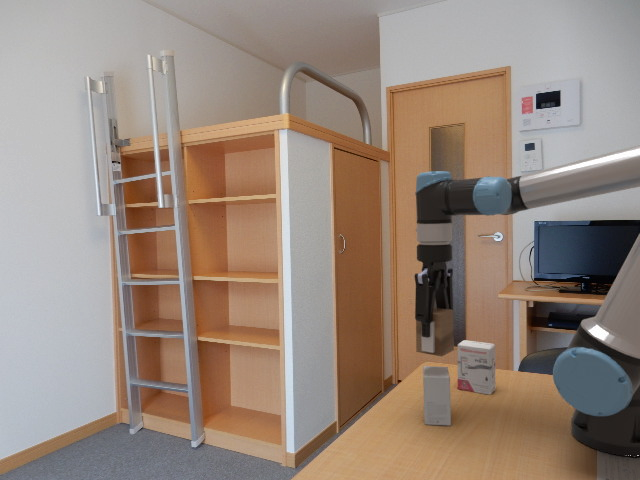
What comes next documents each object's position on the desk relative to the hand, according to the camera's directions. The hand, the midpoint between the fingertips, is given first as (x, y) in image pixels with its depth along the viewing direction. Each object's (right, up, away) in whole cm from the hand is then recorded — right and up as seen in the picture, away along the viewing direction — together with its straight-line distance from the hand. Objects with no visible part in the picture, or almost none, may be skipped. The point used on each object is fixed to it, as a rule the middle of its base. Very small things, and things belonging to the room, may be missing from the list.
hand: (435, 347), depth 104 cm
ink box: (+15, -15, +17) cm, 27 cm away
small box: (0, -16, +1) cm, 16 cm away
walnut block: (0, -1, 0) cm, 1 cm away
